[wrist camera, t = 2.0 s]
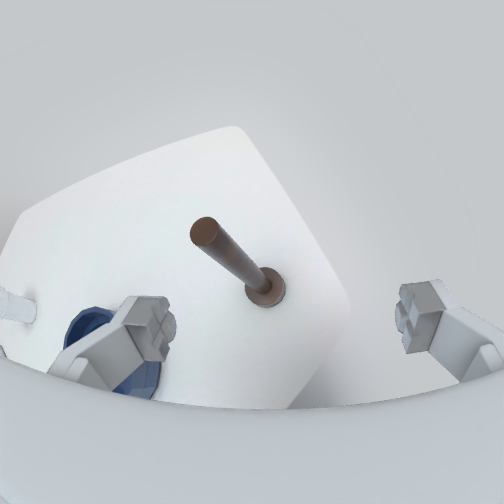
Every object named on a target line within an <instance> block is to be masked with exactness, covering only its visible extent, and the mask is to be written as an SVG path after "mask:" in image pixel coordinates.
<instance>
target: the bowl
mask: <svg viewBox="0 0 504 504" xmlns="http://www.w3.org/2000/svg"><path fill="white" fill-rule="evenodd" d="M116 313H117V312H115V311H111V310H107V309H104V308H100V307H96V306H95V307H92V308H88V309H85V310H82V311H81V312H80V313H79V314H78V315H77V316H76V317H75V318H74V319H73V320H72V321H71V324H70V326H69V328H68V330H67V333H66V335H65V339H64V347H63V350H64V349H66V348H67V347H69V346H71V345H72V344H74V343H75V342H77V341H79V340H80V339H82V338H83V337H85V336H86V335H88V334H90V333H91V332H93V331H94V330H96V329H98V328H99V327H101V326H102V325H104V324H106V323H110V322H111V320H112V319H113V317H114V316H115V314H116ZM158 373H159V362H157V361H144V362H143V363H142V364H141V365H140V366H139V367H138V368H137V369H136V370H134V371H133V372H132V373H131V374H130V375H129V376H128V377H127V378H126V379H125V380H124V381H122V382H121V383H120V384H119V385H118V386H117V387H116V388H115V389H114V390H113V391H112V392H114V393H119V394H124V395H128V396H134V397H139V398H144V399H150V397H151V395H152V393H153V392H154V390H155V388H156V386H157V380H158Z"/></svg>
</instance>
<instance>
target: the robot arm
mask: <svg viewBox="0 0 504 504" xmlns="http://www.w3.org/2000/svg"><path fill="white" fill-rule="evenodd" d="M399 296H400V298H401V300H400V301H399V302H398V303H397V304H396V310H395V322H396V326H397V329H398V331H399V332H401V333H402V334H403V336H402V343H403V345H404V348H405V351H406V354H410V353H416V352H422V351H428V352H429V353H430V354H431V355H432V356H433V357H434V358H435V359H436V360H437V361H438V362H439V363H441V364H442V365H443V366H444V367H445V368H446V369H447V370H448V371H449V372H450V373H451V374H452V375H453V376H454V377H455V378H456V379H457V380H459V381H460V383H459V384H456V385H453V386H450V387H446V388H442V389H438V390H434V391H430V392H426V393H421V394H417V395H412V396H407V397H401V398H396V399H391V400H384V401H379V402H372V403H364V404H356V405H347V406H338V407H326V408H311V409H281V410H262V409H232V408H216V407H204V406H194V405H185V404H177V403H170V402H163V401H156V400H150V399H144V398H139V397H134V396H128V395H124V394H119V393H114V392H112V391H113V390H114V389H115V388H116V387H117V386H118V385H119V384H120V383H121V382H122V381H124V380H125V379H126V378H127V377H128V376H129V375H130V374H131V373H132V372H133V371H134V370H136V369H137V368H138V367H139V366H140V365H141V364H142V363H143V362H144V361H157V362H164V361H165V359H166V357H167V354H168V352H169V349H170V348H169V345H168V343H170V342H171V341H172V340H174V337H175V334H176V320H175V318H174V315H173V314H172V313H171V312H169V311H168V309H169V307H170V304H169V302H168V300H167V298H166V297H164V296H129V297H127V298H126V300H125V301H124V302H123V304H122V305H121V307H120V308H119V310H118V311H117V313H116V314H115V316H114V317H113V319H112V320H111V322H110V323H106V324H104V325H102V326H101V327H99V328H98V329H96V330H94V331H93V332H91V333H90V334H88V335H86V336H85V337H83V338H82V339H80V340H79V341H77V342H75V343H74V344H72V345H71V346H69V347H67V348H66V349H64V350H63V351H61V352H60V354H59V355H58V357H57V358H56V360H55V361H54V363H53V364H52V366H51V367H50V369H49V370H48V372H47V373H44V372H41V371H38V370H35V369H33V368H30V367H27V366H25V365H22V364H20V363H17V362H15V361H12V360H10V359H8V358H5V357H3V356H1V355H0V504H504V332H503V331H502V330H500V329H499V328H497V327H495V326H494V325H492V324H491V323H489V322H487V321H486V320H484V319H482V318H480V317H479V316H477V315H475V314H474V313H472V312H470V311H469V310H467V309H465V308H463V307H461V308H459V306H458V305H457V303H456V302H455V300H454V298H453V297H452V295H451V294H450V292H449V291H448V289H447V288H446V286H445V285H444V283H443V282H442V281H441V280H439V279H438V280H431V281H427V282H419V283H410V284H402V285H401V287H400V290H399Z"/></svg>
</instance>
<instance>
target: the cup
mask: <svg viewBox="0 0 504 504" xmlns="http://www.w3.org/2000/svg"><path fill="white" fill-rule="evenodd" d="M36 311H37V309H36V304H35V302H34V301H32V300H29V299H26V298H23V297H21V296H18V295H15V294H13V293H10V292H8V291H7V290H6V289H5V288H3V287H1V286H0V319H7V320H12V321H18V322H24V323H30V324H32V323H33V321H34V320H35V317H36Z"/></svg>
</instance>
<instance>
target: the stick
mask: <svg viewBox="0 0 504 504" xmlns="http://www.w3.org/2000/svg"><path fill="white" fill-rule="evenodd" d="M190 238H191V241H192V242H193V243H194V244H195V245H196V246H197V247H199V248H200V249H201V250H203V251H204V252H205V253H206V254H208V255H209V256H210V257H212V258H213V259H214V260H215V261H217V262H218V263H219V264H221V265H222V266H223V267H224V268H226V269H227V270H228V271H230V272H231V273H232V274H234V275H235V276H236V277H238V278H239V279H240V280H242V281H243V282H244V283H245V292H246V295H247V297H248V298H249V299H250V300H251V301H252V302H253V303H255V304H257V305H258V306H261V307H272V306H275V305H276V304H278V303H279V302H280V301H281V300H282V298H283V296H284V294H285V283H284V281H283V279H282V278H281V276H280V275H279V274H278V273H277V272H276V271H275V270H273V269H271V268H267V267H263V268H259V267H258V266H257V265H256V264H255V263H254V262H253V261H252V260H251V259H250V258H249V257H248V255H247V254H246V253H245V252H244V251H243V250H242V249H241V248H240V247H239V246H238V244H237V243H236V242H235V241H234V240H233V239H232V238H231V237H230V236H229V235H228V233H227V232H226V231H225V230H224V229H223V228H222V227H221V226H220V225H219V224H218V222H217V221H216V220H215V219H213V218H211V217H203V218H200V219H198V220H197V221H196V222H195V223H194V224H193V225H192V227H191V230H190Z"/></svg>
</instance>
